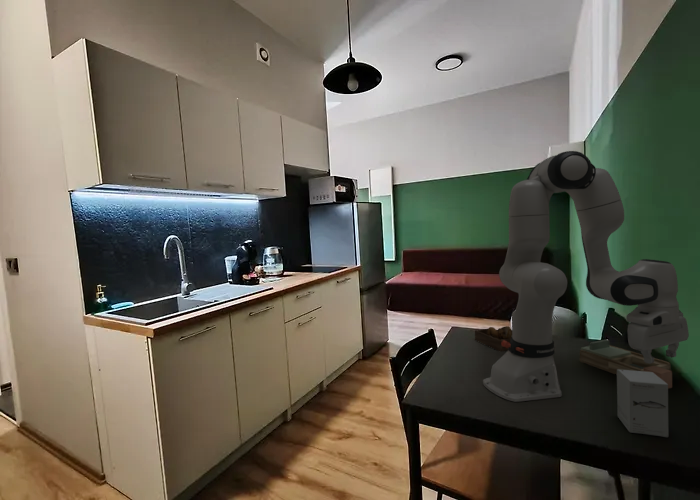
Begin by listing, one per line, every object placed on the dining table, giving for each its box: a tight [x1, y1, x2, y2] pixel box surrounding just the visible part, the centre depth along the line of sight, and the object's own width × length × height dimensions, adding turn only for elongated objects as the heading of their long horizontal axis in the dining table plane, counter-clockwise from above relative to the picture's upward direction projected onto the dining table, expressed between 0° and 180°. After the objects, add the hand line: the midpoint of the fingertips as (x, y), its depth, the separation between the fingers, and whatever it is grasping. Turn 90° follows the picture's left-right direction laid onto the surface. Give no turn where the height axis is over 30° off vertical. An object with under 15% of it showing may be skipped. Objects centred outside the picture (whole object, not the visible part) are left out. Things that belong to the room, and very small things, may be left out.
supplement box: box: [616, 369, 669, 438], centre depth 78 cm, size 7×7×13 cm
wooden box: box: [579, 344, 672, 376], centre depth 111 cm, size 14×19×4 cm
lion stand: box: [474, 327, 512, 353], centre depth 140 cm, size 8×16×4 cm, turn 16°
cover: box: [580, 338, 631, 359], centre depth 116 cm, size 10×10×3 cm
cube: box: [644, 366, 673, 390], centre depth 97 cm, size 4×4×5 cm
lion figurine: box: [487, 325, 512, 340], centre depth 139 cm, size 15×5×9 cm, turn 26°
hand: (660, 359), depth 97 cm, fingers open, 8 cm apart
